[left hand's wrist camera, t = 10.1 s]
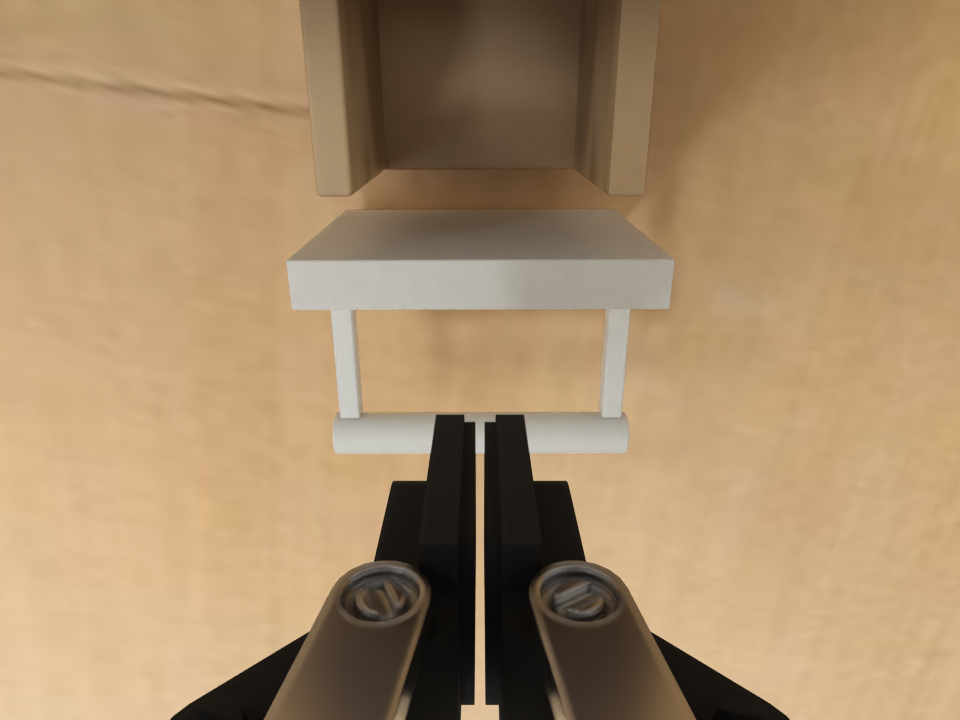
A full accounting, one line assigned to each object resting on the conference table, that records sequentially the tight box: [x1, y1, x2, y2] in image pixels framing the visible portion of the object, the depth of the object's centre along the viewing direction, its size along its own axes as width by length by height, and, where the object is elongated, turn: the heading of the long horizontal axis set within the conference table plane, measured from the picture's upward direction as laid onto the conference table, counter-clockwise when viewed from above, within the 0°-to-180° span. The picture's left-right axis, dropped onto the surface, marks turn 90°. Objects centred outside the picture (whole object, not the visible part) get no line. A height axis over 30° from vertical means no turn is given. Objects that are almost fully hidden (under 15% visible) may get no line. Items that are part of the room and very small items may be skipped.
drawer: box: [286, 0, 675, 454], centre depth 18 cm, size 17×9×7 cm, turn 0°
